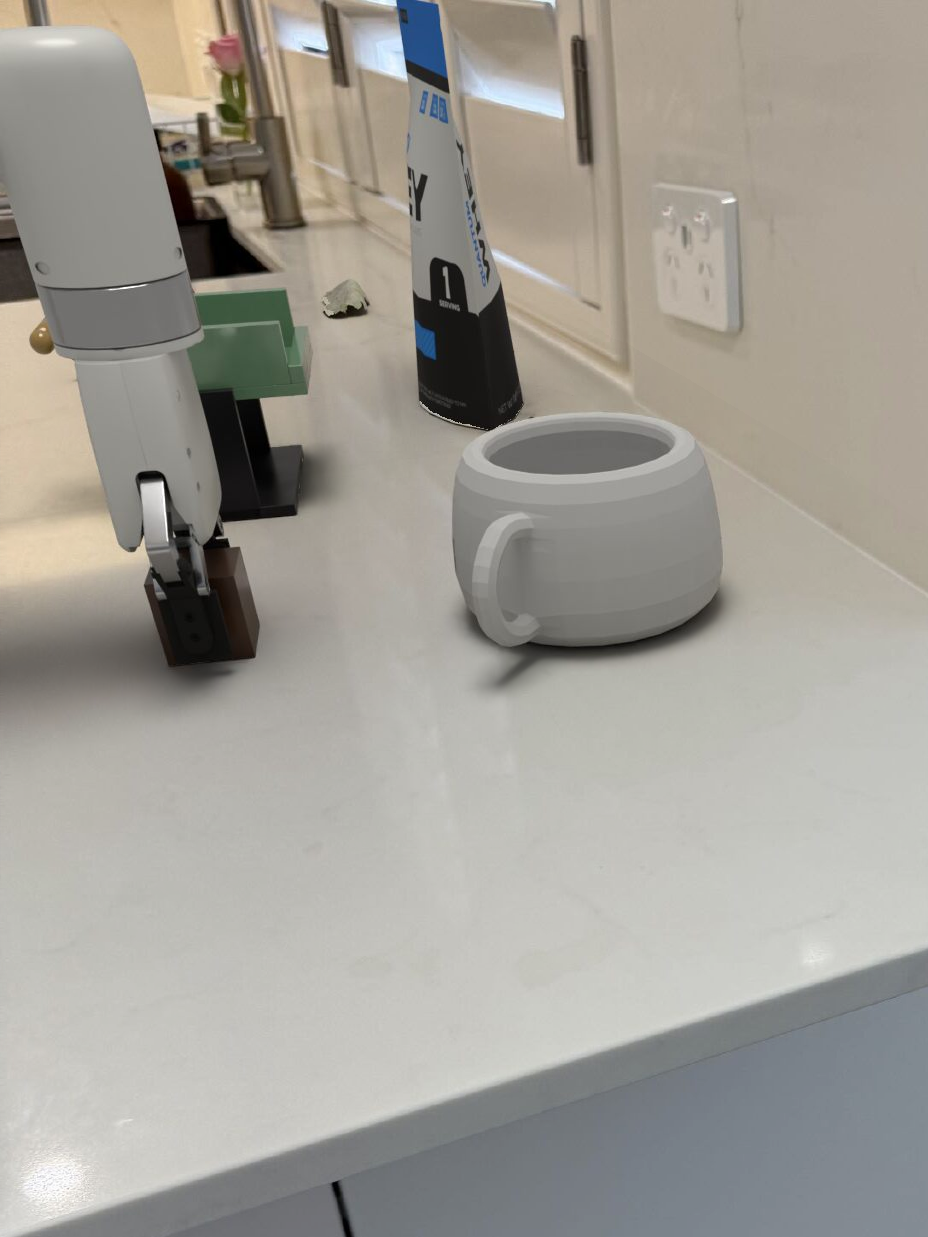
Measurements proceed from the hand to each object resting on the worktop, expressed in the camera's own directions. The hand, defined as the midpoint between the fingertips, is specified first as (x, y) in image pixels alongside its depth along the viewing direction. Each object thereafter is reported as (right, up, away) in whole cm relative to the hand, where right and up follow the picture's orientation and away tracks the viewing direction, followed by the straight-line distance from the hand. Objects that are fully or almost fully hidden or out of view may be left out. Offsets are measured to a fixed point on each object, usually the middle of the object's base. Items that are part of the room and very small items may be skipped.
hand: (211, 629), depth 81 cm
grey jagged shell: (-14, +58, +77) cm, 97 cm away
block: (0, -1, +1) cm, 1 cm away
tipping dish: (-10, +24, +19) cm, 32 cm away
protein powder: (+7, +33, +44) cm, 55 cm away
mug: (+22, +1, +3) cm, 22 cm away
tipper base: (-7, +18, +25) cm, 31 cm away
